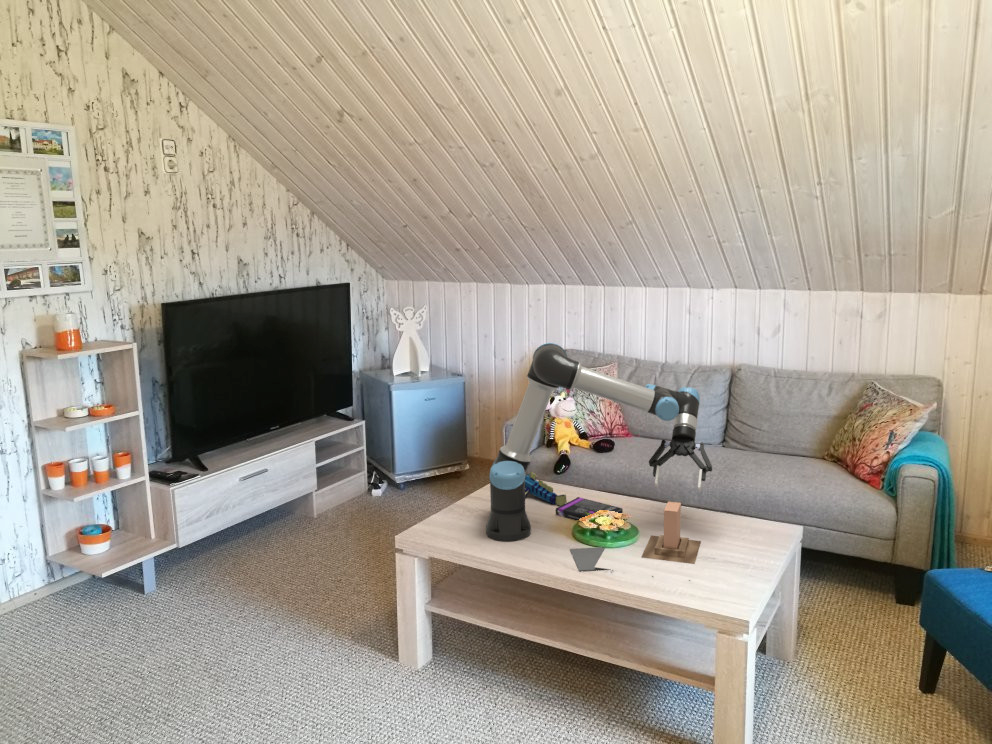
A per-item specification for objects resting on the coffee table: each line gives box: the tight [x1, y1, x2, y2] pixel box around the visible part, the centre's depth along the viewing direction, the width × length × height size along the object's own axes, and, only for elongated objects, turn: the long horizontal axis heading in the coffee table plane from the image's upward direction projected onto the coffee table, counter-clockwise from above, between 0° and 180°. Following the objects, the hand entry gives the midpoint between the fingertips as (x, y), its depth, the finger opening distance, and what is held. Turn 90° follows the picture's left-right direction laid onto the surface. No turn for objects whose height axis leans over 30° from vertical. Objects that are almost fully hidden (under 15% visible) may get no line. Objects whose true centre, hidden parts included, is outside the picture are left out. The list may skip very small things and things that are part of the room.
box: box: [555, 496, 624, 521], centre depth 285 cm, size 14×4×20 cm
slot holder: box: [641, 534, 702, 565], centre depth 251 cm, size 16×18×4 cm
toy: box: [525, 471, 568, 507], centre depth 301 cm, size 14×25×10 cm, turn 39°
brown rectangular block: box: [663, 501, 682, 550], centre depth 249 cm, size 4×8×14 cm, turn 160°
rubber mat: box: [569, 546, 612, 572], centre depth 248 cm, size 16×16×1 cm
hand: (677, 487), depth 257 cm, fingers open, 13 cm apart
